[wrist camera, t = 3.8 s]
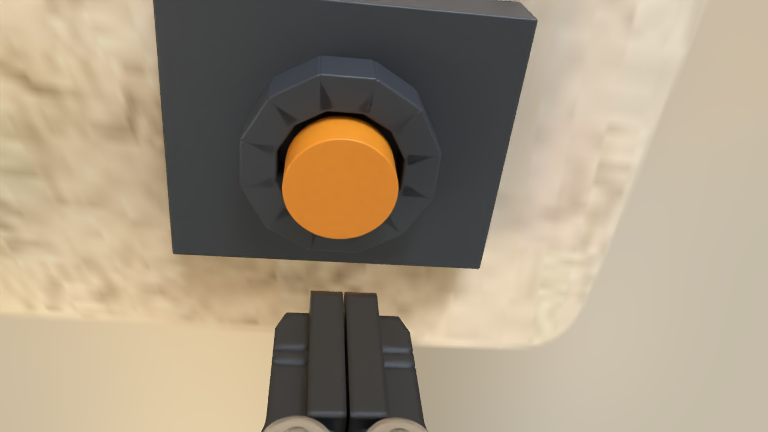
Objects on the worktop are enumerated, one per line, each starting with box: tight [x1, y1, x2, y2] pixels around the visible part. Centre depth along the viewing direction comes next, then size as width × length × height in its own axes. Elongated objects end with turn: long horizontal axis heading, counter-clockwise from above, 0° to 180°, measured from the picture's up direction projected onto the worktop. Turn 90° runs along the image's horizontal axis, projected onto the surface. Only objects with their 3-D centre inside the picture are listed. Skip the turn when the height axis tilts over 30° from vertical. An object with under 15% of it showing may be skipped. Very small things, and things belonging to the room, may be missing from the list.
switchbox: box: [153, 0, 537, 269], centre depth 23 cm, size 12×10×4 cm
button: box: [282, 116, 398, 239], centre depth 21 cm, size 4×4×2 cm
